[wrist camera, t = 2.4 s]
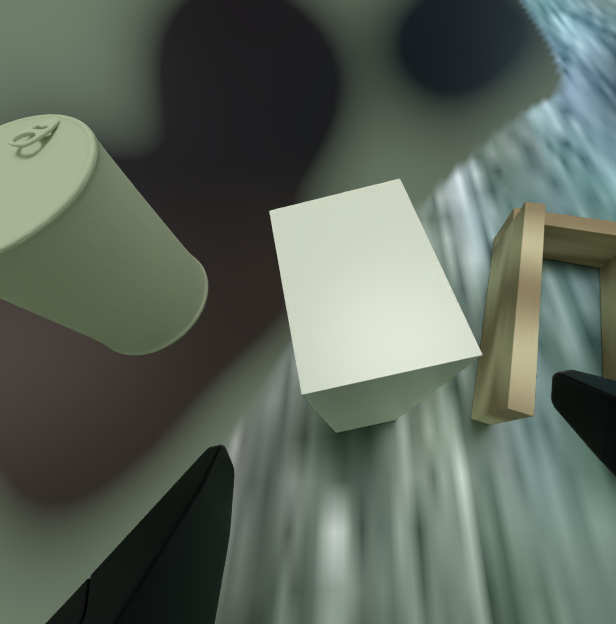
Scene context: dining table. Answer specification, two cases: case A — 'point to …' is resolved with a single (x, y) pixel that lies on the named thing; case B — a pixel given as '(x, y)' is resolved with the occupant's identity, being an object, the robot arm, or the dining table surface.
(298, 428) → the dining table surface
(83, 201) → the can
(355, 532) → the dining table surface
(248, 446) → the dining table surface
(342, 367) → the tall off-white box
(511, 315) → the rack
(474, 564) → the dining table surface
